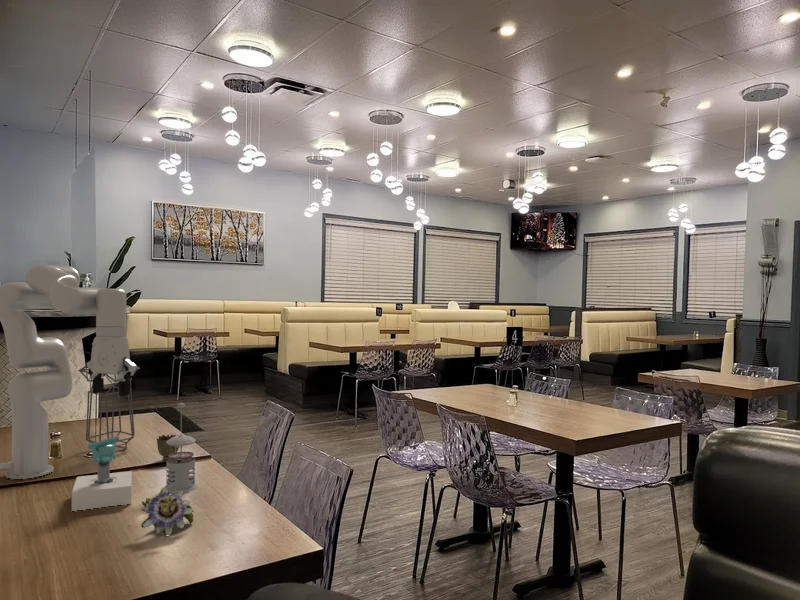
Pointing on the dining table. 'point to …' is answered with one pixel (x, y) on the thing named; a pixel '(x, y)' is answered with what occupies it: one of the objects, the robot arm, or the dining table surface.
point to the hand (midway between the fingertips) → (111, 393)
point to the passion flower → (167, 512)
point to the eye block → (102, 491)
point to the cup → (165, 446)
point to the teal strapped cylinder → (104, 457)
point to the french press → (180, 472)
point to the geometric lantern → (107, 410)
